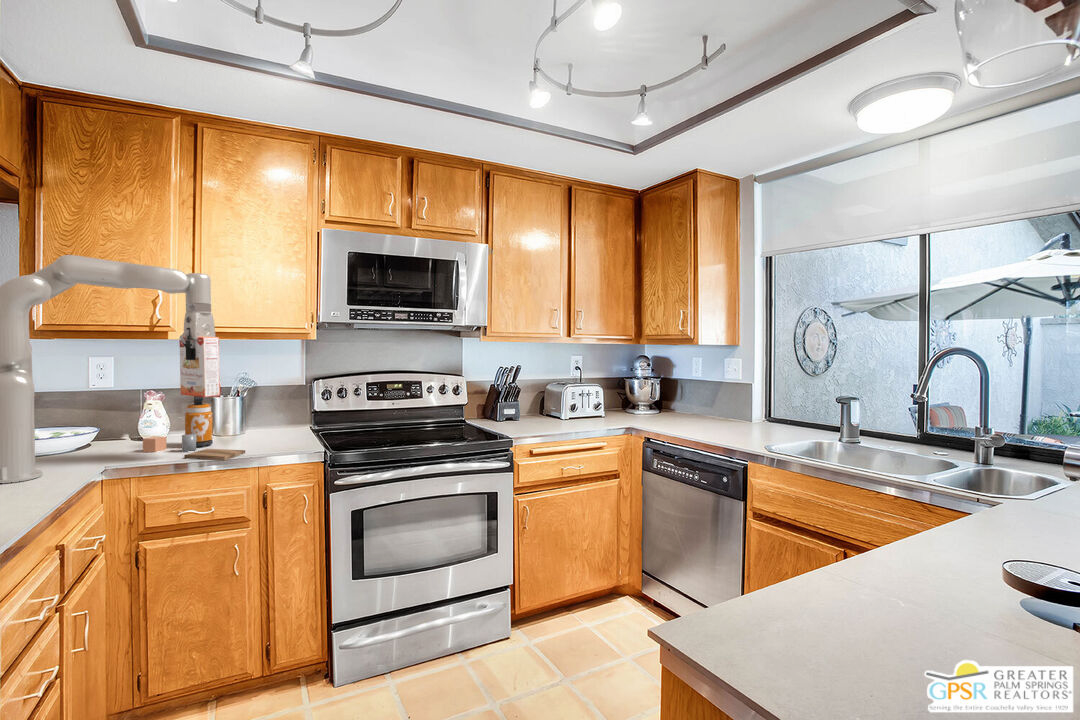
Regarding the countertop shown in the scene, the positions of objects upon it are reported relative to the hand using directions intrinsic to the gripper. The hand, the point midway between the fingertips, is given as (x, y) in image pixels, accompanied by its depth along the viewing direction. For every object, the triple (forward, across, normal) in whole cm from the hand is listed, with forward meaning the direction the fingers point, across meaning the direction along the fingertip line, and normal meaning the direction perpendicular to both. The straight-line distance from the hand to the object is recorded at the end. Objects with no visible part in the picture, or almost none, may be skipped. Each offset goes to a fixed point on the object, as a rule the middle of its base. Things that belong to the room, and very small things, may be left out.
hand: (199, 359), depth 190 cm
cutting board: (+34, +1, -4) cm, 35 cm away
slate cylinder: (+34, +8, +10) cm, 37 cm away
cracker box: (+13, 0, 0) cm, 13 cm away
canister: (+35, +18, +14) cm, 41 cm away
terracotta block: (+34, +6, +22) cm, 42 cm away
